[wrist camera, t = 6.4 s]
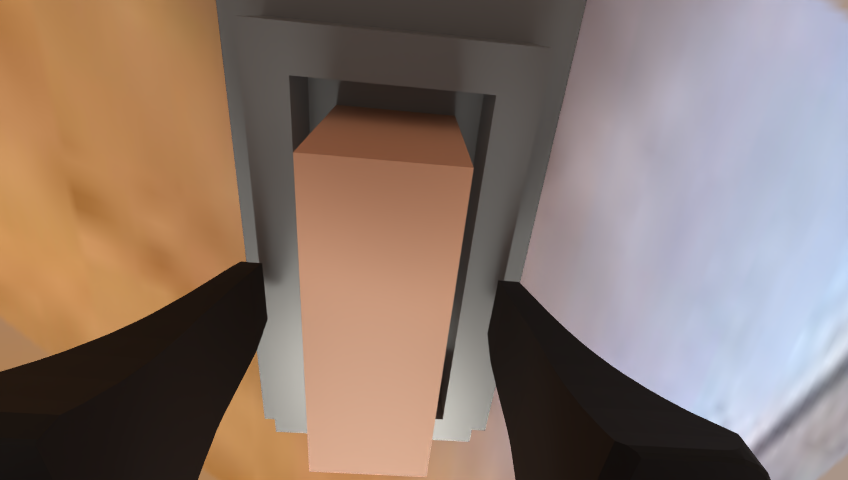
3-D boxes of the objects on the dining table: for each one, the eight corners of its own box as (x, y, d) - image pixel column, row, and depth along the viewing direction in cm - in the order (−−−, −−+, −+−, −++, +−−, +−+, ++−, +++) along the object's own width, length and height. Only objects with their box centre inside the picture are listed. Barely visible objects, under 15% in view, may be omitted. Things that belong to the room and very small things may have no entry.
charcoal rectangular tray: (585, -25, 12) (625, -34, 10) (483, 419, 20) (491, 471, 18) (217, -66, 11) (166, -86, 9) (269, 407, 20) (249, 459, 17)
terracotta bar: (455, 115, 13) (473, 168, 9) (424, 361, 18) (426, 477, 13) (336, 104, 13) (293, 152, 8) (337, 355, 17) (309, 471, 13)
